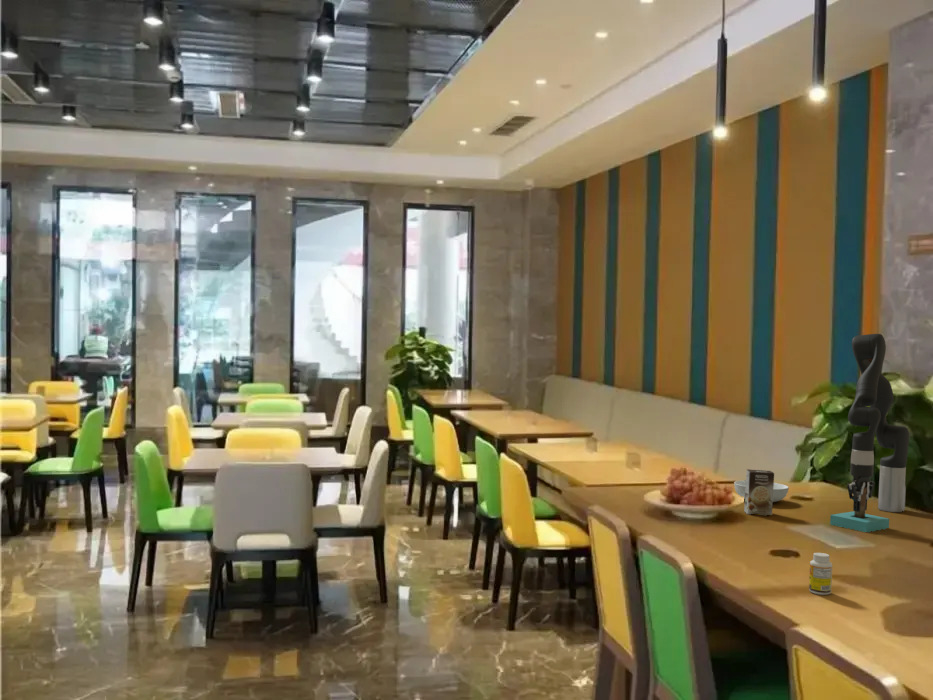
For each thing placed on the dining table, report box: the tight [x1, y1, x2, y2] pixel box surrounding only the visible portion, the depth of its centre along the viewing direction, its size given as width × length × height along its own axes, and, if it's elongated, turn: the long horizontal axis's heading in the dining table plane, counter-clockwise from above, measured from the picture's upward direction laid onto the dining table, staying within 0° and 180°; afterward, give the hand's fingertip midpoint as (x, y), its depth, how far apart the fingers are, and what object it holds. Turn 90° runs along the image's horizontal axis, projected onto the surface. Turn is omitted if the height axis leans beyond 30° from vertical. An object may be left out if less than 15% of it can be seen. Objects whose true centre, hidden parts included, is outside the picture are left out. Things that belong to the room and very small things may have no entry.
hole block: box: [829, 510, 890, 533], centre depth 336 cm, size 14×14×4 cm
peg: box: [854, 488, 866, 519], centre depth 336 cm, size 4×4×12 cm
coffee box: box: [743, 468, 775, 516], centre depth 354 cm, size 9×6×16 cm
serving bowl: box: [733, 479, 789, 503], centre depth 379 cm, size 21×21×7 cm
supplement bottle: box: [808, 552, 833, 596], centre depth 250 cm, size 6×6×10 cm
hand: (859, 510), depth 336 cm, fingers closed on peg, 3 cm apart
